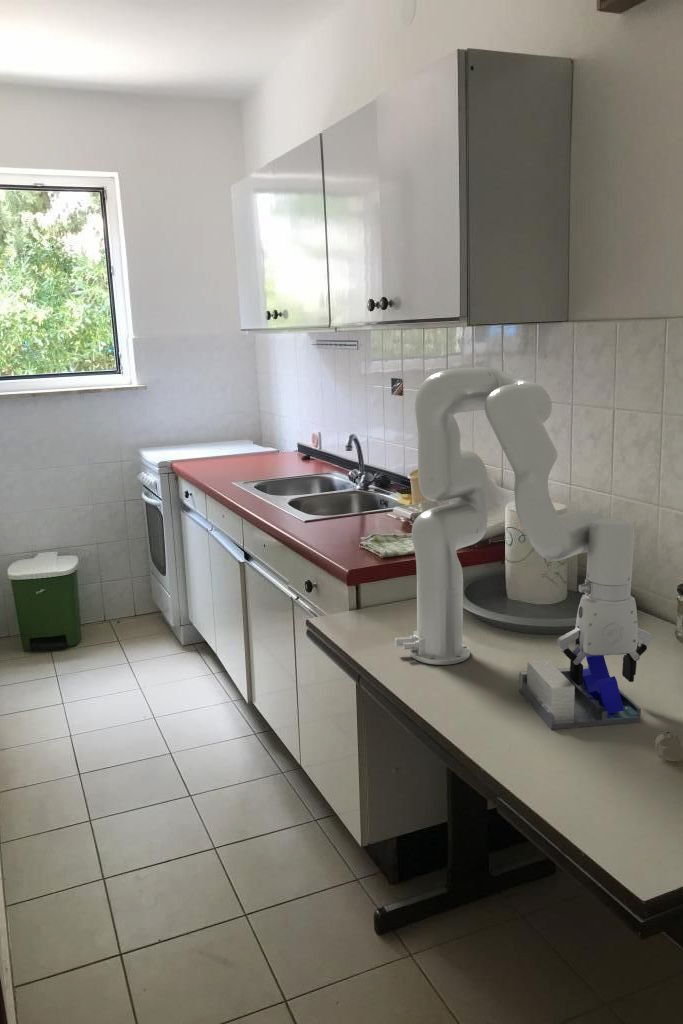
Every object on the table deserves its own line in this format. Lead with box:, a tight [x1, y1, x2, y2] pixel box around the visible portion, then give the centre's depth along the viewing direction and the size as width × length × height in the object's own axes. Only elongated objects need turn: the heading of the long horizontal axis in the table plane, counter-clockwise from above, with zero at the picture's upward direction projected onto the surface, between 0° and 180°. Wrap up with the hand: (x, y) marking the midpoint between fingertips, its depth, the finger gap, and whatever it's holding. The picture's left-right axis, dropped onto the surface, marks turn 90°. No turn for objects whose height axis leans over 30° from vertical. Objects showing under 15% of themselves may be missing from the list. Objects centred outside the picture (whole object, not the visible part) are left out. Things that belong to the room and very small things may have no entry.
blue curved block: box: [583, 655, 624, 714], centre depth 150 cm, size 12×4×6 cm, turn 175°
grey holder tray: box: [518, 659, 642, 731], centre depth 150 cm, size 16×16×7 cm
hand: (602, 680), depth 150 cm, fingers open, 9 cm apart
